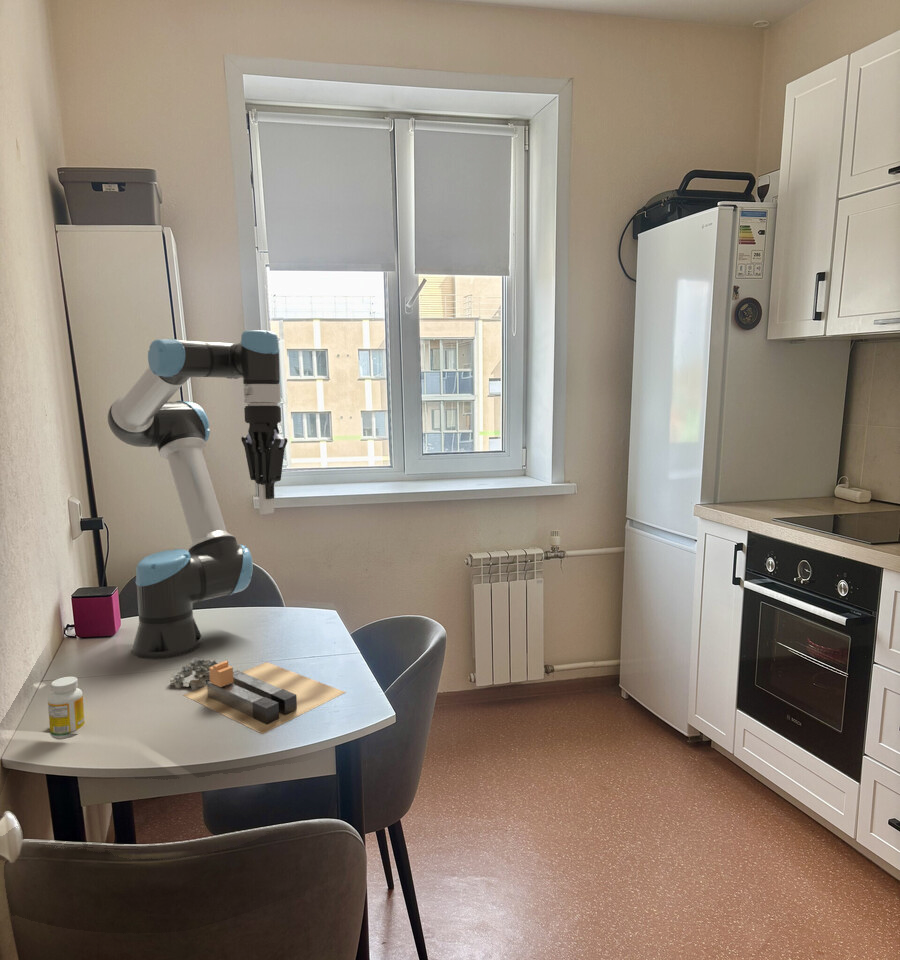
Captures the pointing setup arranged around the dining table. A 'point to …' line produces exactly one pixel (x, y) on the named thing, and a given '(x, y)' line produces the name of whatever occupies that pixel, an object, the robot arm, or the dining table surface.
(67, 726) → the supplement bottle
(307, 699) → the board
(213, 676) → the tab
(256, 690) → the bar
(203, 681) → the grey lumpy stone piece
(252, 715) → the tongs fixed
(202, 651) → the dining table surface
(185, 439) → the robot arm
